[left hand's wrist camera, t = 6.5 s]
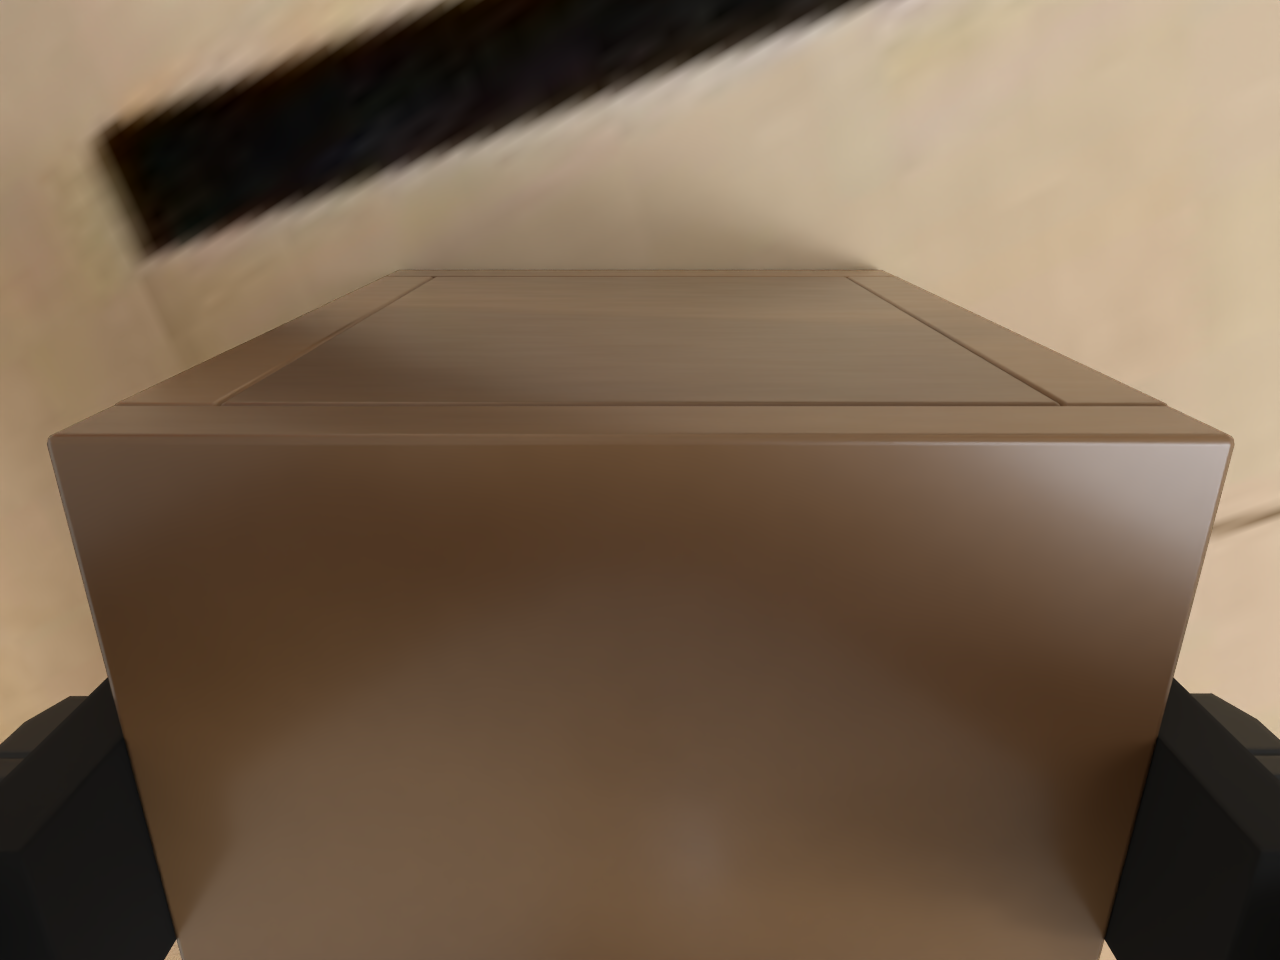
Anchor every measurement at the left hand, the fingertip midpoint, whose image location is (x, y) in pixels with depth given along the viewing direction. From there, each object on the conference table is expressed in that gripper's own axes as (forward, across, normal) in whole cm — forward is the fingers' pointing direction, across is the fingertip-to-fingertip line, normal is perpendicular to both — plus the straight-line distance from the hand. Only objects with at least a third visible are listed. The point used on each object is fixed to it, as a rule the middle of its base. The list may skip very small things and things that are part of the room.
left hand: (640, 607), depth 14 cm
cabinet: (+6, 0, -4) cm, 7 cm away
